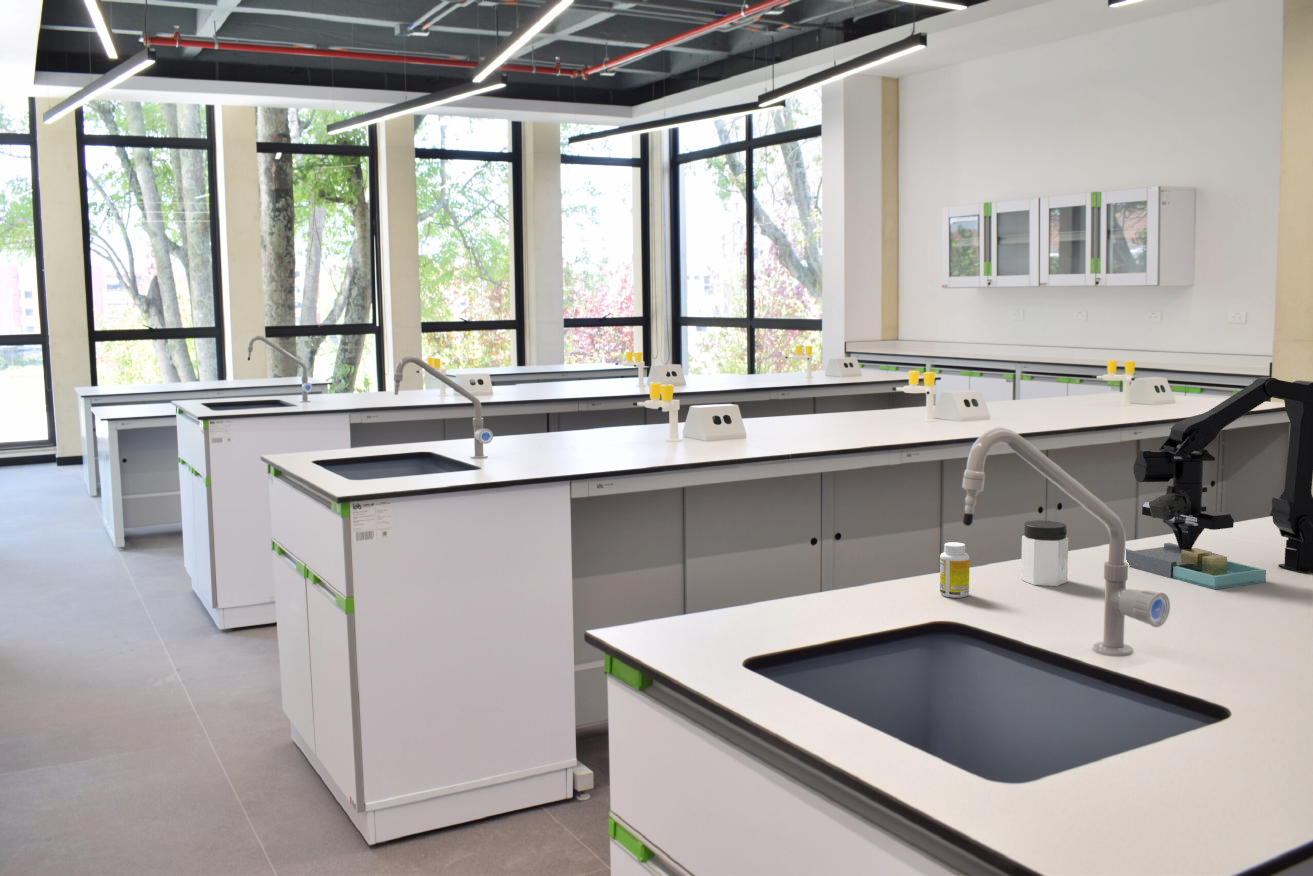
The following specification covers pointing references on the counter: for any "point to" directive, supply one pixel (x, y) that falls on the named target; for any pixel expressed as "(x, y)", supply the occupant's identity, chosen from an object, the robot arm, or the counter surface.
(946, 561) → the supplement bottle
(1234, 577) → the tray
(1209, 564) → the chip
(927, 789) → the counter surface
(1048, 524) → the jar
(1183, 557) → the tan square block
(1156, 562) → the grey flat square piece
